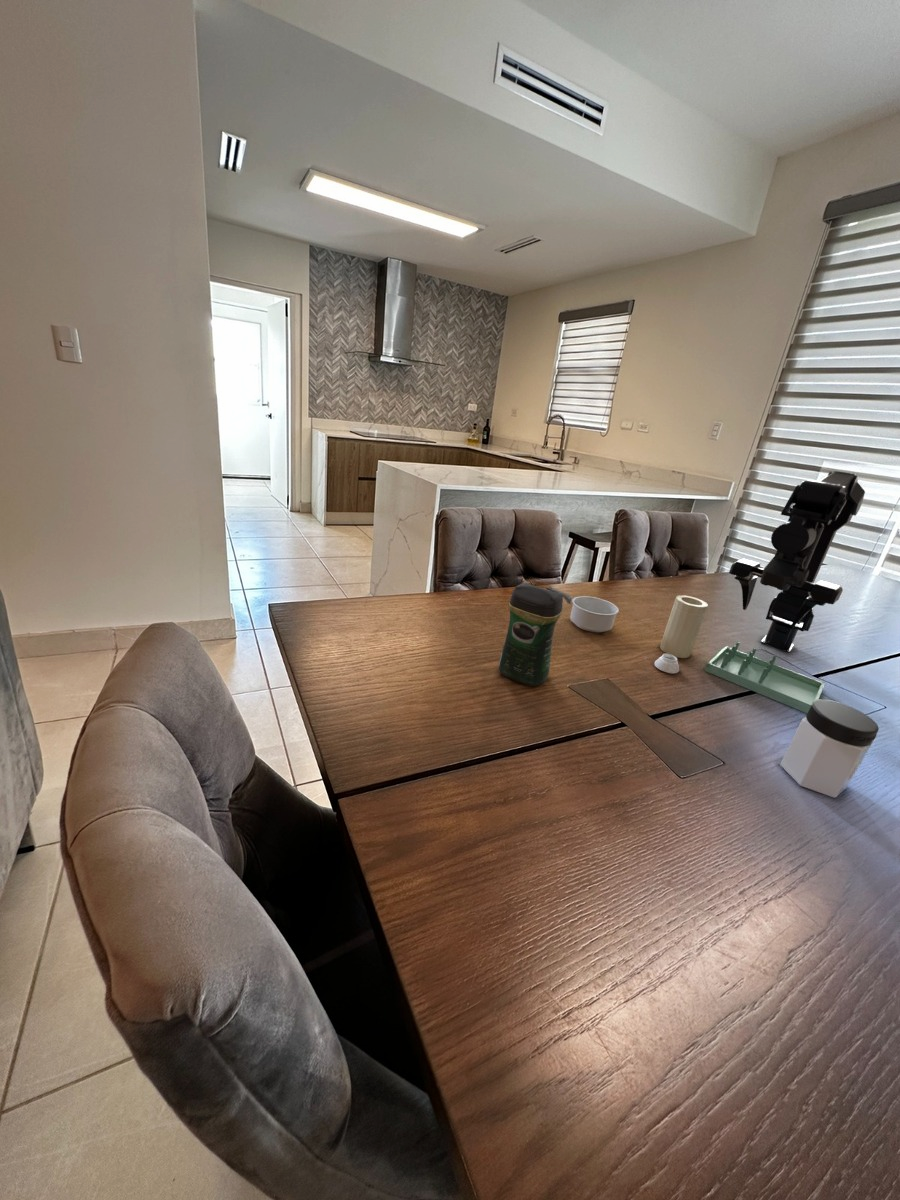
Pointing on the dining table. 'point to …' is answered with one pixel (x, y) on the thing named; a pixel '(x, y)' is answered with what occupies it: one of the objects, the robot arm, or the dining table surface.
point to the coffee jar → (530, 634)
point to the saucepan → (590, 612)
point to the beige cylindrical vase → (683, 626)
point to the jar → (829, 747)
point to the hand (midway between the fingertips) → (767, 617)
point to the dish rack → (766, 678)
